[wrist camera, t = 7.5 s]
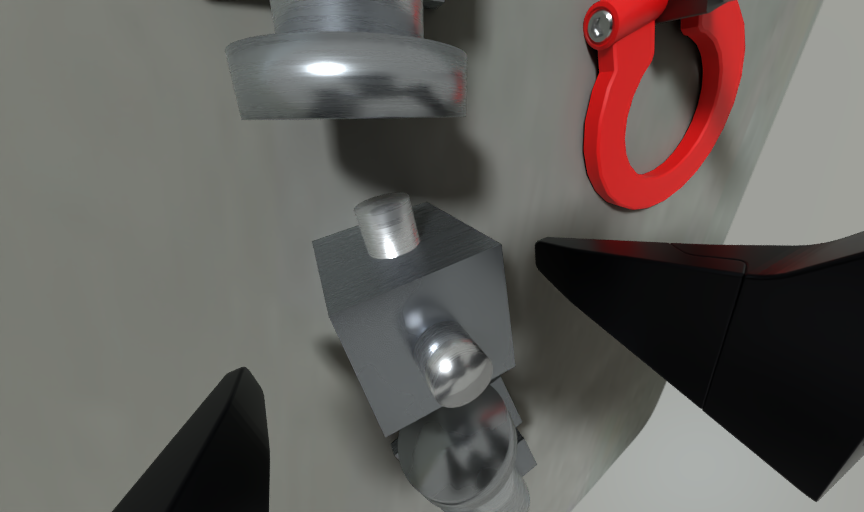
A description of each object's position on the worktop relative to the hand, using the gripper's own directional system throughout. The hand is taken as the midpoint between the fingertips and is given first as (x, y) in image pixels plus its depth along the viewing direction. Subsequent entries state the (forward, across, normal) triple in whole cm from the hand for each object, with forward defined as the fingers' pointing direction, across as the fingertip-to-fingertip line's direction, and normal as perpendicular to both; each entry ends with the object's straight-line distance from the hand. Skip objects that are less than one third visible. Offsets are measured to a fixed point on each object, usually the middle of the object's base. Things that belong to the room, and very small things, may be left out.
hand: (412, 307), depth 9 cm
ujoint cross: (+3, 0, 0) cm, 3 cm away
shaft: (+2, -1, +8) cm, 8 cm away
